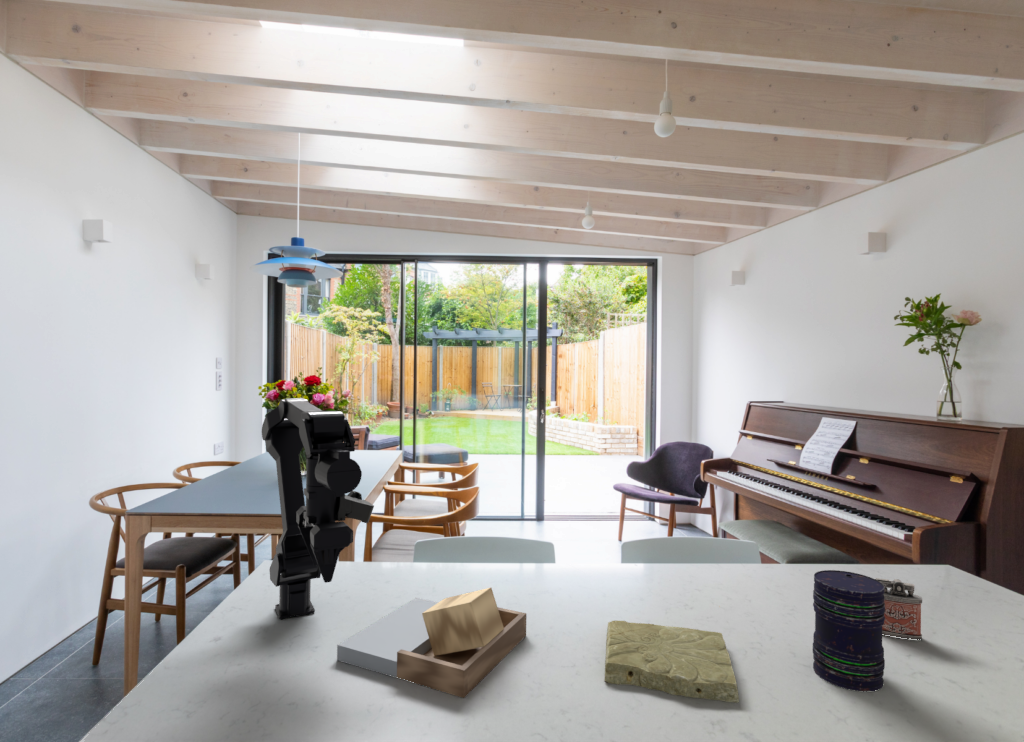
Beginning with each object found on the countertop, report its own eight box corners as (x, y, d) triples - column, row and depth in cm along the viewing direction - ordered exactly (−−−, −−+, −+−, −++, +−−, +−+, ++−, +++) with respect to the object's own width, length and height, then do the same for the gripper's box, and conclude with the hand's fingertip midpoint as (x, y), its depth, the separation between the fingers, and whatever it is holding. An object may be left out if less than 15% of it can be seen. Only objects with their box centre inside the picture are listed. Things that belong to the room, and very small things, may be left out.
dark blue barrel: (885, 699, 83) (886, 597, 83) (809, 680, 88) (810, 584, 89) (883, 670, 92) (884, 577, 92) (814, 653, 97) (815, 565, 97)
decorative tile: (607, 635, 104) (607, 615, 104) (722, 648, 100) (723, 627, 100) (600, 690, 86) (600, 666, 86) (741, 709, 81) (741, 684, 81)
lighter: (919, 635, 104) (920, 580, 104) (924, 643, 101) (924, 587, 101) (868, 626, 108) (868, 573, 108) (870, 634, 105) (871, 579, 105)
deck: (337, 660, 93) (337, 644, 93) (415, 610, 113) (416, 597, 113) (396, 678, 88) (397, 661, 88) (468, 622, 107) (468, 609, 108)
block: (421, 613, 95) (470, 602, 91) (444, 598, 101) (491, 587, 97) (434, 655, 94) (484, 646, 90) (456, 638, 100) (504, 628, 96)
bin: (396, 678, 88) (397, 652, 88) (468, 622, 107) (468, 601, 108) (464, 698, 82) (464, 670, 82) (526, 635, 102) (526, 613, 102)
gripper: (384, 489, 95) (383, 583, 95) (356, 471, 111) (355, 551, 111) (315, 495, 89) (313, 595, 89) (296, 476, 106) (295, 560, 106)
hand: (322, 573), depth 99 cm, fingers open, 9 cm apart
